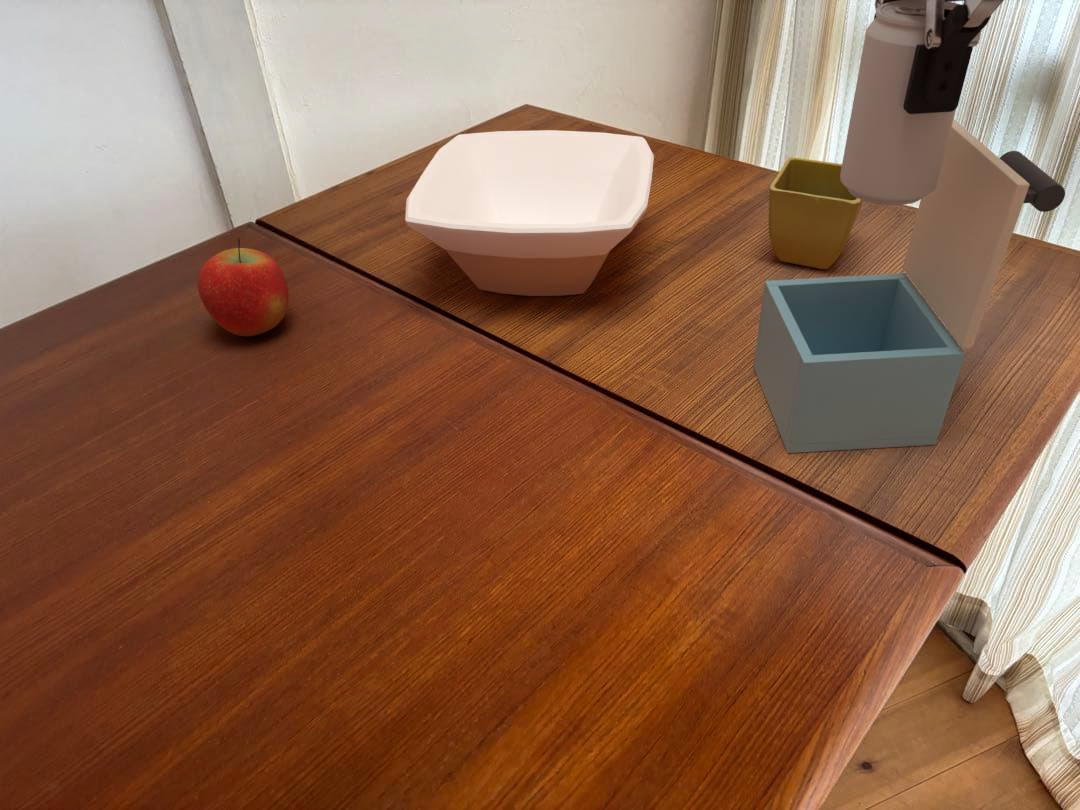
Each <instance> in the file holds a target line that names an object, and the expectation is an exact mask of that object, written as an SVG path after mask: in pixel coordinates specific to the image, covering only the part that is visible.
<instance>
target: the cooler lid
mask: <svg viewBox="0 0 1080 810" xmlns="http://www.w3.org/2000/svg"><path fill="white" fill-rule="evenodd" d="M1065 198H1066V190H1065V188H1064V187H1063V185H1061V184H1060V183H1059V182H1057V180H1055V179H1053V178H1052V177H1051V176H1050V175H1049V174H1048V173H1046V172H1045V171H1044V170H1043V169H1042V168H1040V167H1039V166H1038V165H1037V164H1035V163H1034V162H1033V161H1032V160H1031V159H1029V158H1028V157H1027V156H1025V155H1024V154H1023V153H1022V152H1021V151H1018V150H1010V151H1007V152H1005V153H1003V154H1002V155H1001V156H1000V157H999V156H997V154H995V153H994V152H993V151H992V150H991V149H989V148H988V147H987V146H986V145H985V144H983V143H982V142H981V141H980V140H979V139H978V138H977V137H976V136H975V135H973V134H972V133H971V132H970V131H969V130H967V129H966V128H965V127H964V126H963V125H961V124H960V123H959V122H958V121H957V120H955V118H954V119H953V123H952V127H951V131H950V134H949V138H948V142H947V146H946V150H945V154H944V158H943V162H942V166H941V170H940V173H939V177H938V181H937V185H936V188H935V189H934V191H933V192H931V193H930V194H928V195H927V196H925V197H922V199H920V200H919V204H918V209H917V212H916V216H915V220H914V223H913V227H912V231H911V234H910V238H909V242H908V246H907V250H906V253H905V256H904V261H903V264H902V269H903V271H904V273H906V275H907V276H908V277H909V279H910V280H911V281H912V283H913V284H914V285H915V287H916V288H917V289H918V291H919V292H920V294H921V295H922V296H923V298H924V299H925V300H926V302H927V303H928V304H929V306H930V307H931V308H932V310H933V311H934V312H935V314H936V315H937V316H938V318H939V319H940V320H941V322H942V323H943V324H944V326H945V327H946V328H947V330H948V331H949V332H950V334H951V335H952V336H953V338H954V339H955V340H956V342H957V343H958V344H959V346H960V347H961V348H962V349H970V348H973V347H974V344H975V341H976V339H977V335H978V333H979V331H980V327H981V324H982V321H983V319H984V316H985V313H986V311H987V308H988V304H989V302H990V298H991V296H992V293H993V290H994V287H995V285H996V283H997V279H998V276H999V274H1000V271H1001V268H1002V264H1003V262H1004V259H1005V257H1006V253H1007V250H1008V248H1009V244H1010V242H1011V240H1012V236H1013V233H1014V230H1015V228H1016V225H1017V223H1018V219H1019V216H1020V213H1021V211H1022V209H1023V205H1024V204H1030V205H1031V206H1032V207H1033V208H1034V209H1036V210H1037V211H1038V212H1042V213H1048V212H1051V211H1053V210H1055V209H1057V208H1058V207H1059V206H1060V205H1061V204H1062V203H1063V201H1064V200H1065Z"/></svg>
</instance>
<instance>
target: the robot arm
mask: <svg viewBox="0 0 1080 810" xmlns="http://www.w3.org/2000/svg"><path fill="white" fill-rule="evenodd" d="M893 1H899V0H874V9H875V11H876V9H877V7H878V6H880V5H882V4H885V3H888V2H893ZM1004 1H1005V0H927V3H926V23H925V44H921V45H917V46H916V50H915V55H914V59H913V64H912V69H911V73H910V78H909V82H908V87H907V91H906V96H905V100H904V105H903V108H904V110H905V111H906V112H907V113H909V114H922V113H939V112H952V111H954V110H955V109H956V110H957V109H958V107H959V104H960V98H961V96H962V92H963V88H964V84H965V80H966V76H967V72H968V68H969V64H970V60H971V57H972V53H973V49H974V47H976V46H977V45H978V44H979V42H980V40H981V37H982V35H981V34H982V30H983V29H984V28H985V27H986V26H987V24H988V23H989V21H990V20H991V17H992V15H993V14H994V12H995V11H996V10H997V9H998V8H999V7H1000V6H1001V4H1002V3H1003V2H1004ZM945 2H963V4H961V5H956V6H955V7H954V9H953V10H952V11H951V12H950V13H949V15H948V16H947V17H946V18H945V20H944V4H945ZM876 17H877V16H876V12H875V13H874V16H873V20H874V19H875V18H876Z"/></svg>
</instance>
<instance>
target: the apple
mask: <svg viewBox="0 0 1080 810" xmlns="http://www.w3.org/2000/svg"><path fill="white" fill-rule="evenodd" d="M240 245H241V237H240V236H238V237H237V247H234V248H229V249H225V250H222V251H220V252H218V253H216V254H215V255H213V256H211V257H210V258H209V259H208V260H207V261H206V262H205V263H204V264H203V266H202V267H201V269H200V271H199V274H198V276H197V292H198V295H199V298H200V300H201V302H202V304H203V306H204V308H205V310H206V311H207V313H208V314H209V315H210V316H211V318H212V319H213V320H214V321H215V322H216V323H217V324H218V325H219V326H220V327H221V328H223V329H224V330H226V331H227V332H229V333H231V334H233V335H236V336H240V337H253V336H257V335H258V336H259V335H261V334H264V333H267V332H269V331H270V330H273V329H274V328H275V327H277V326H278V325H279V324H280V322H281V321H282V320H283V318H284V317H285V315H286V312H287V310H288V306H289V288H288V282H287V279H286V276H285V274H284V272H283V270H282V268H281V267H280V265H279V264H278V263H277V261H276V260H275V259H274V258H272V257H271V256H270V255H268V254H267V253H265V252H263V251H260V250H257V249H253V248H246V247H241V246H240Z"/></svg>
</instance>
